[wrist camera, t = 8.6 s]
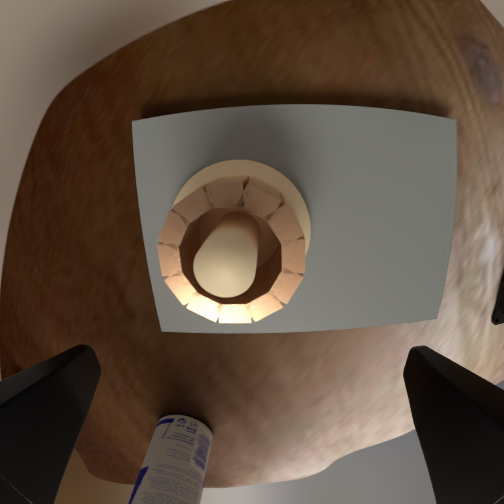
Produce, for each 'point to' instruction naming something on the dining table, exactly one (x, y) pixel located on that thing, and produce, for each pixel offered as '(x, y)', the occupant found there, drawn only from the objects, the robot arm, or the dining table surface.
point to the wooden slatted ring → (267, 275)
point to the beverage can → (174, 463)
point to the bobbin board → (308, 209)
